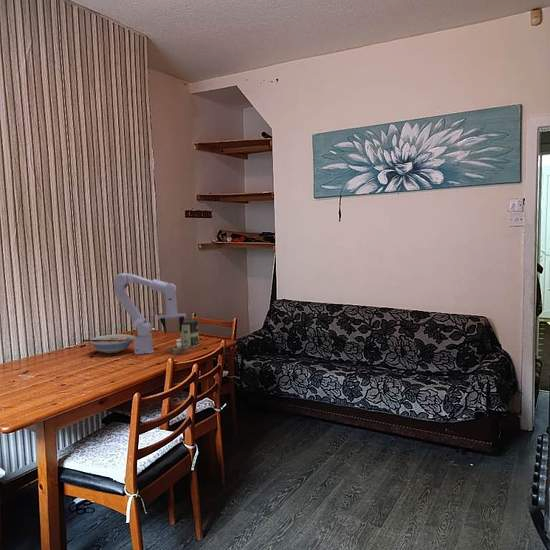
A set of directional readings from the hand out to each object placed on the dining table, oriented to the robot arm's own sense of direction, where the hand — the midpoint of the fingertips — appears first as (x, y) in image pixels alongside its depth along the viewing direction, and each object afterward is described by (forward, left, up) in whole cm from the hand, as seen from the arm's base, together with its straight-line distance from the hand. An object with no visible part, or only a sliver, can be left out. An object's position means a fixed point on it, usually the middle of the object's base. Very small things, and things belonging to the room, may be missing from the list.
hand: (172, 331), depth 260 cm
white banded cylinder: (+2, -5, -10) cm, 12 cm away
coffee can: (+9, +10, -11) cm, 17 cm away
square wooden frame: (+3, -5, -10) cm, 12 cm away
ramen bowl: (-31, +9, -11) cm, 34 cm away
